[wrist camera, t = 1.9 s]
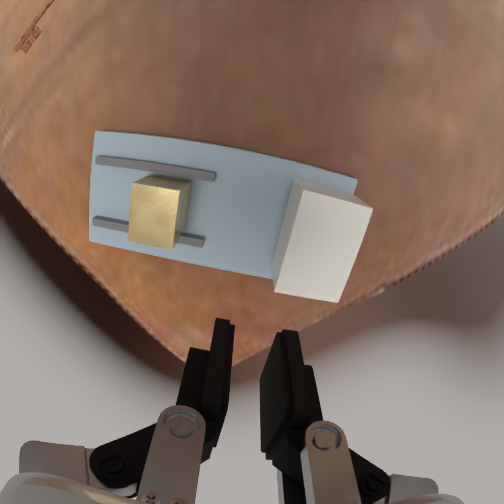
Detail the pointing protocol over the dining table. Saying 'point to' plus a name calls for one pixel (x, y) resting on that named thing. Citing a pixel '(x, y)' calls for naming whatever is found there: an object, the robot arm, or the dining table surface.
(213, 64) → the dining table surface
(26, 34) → the key
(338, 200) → the white rectangular block
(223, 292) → the dining table surface
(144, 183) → the block
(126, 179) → the plate
